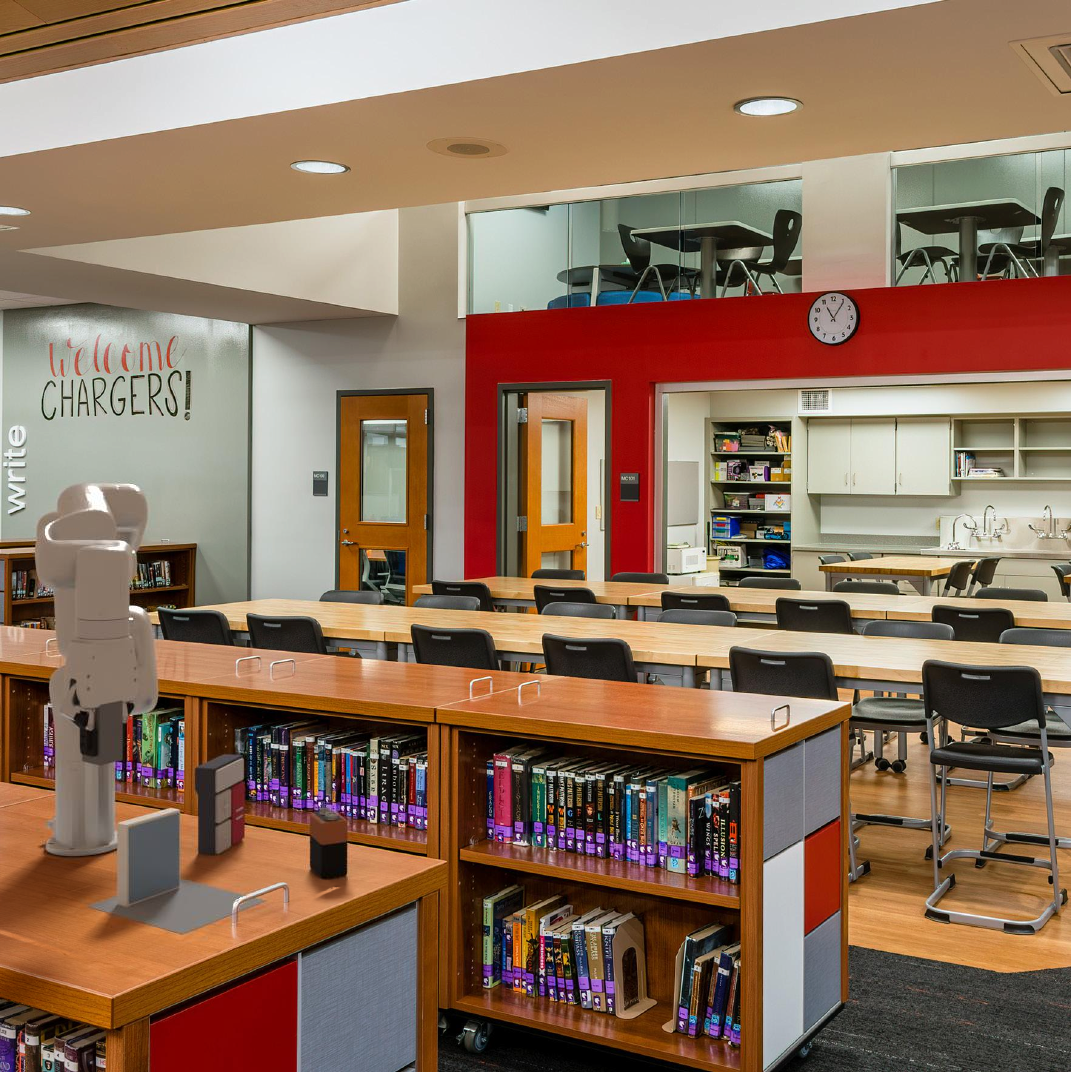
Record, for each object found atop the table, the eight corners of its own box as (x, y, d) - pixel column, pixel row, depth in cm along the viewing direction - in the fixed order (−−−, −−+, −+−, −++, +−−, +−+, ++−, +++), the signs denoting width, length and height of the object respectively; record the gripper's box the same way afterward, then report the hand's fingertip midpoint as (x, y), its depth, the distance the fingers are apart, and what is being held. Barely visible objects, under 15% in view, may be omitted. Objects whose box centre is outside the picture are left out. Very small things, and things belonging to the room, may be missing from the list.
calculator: (218, 858, 196) (218, 769, 195) (194, 856, 197) (194, 767, 196) (247, 839, 207) (247, 754, 206) (224, 837, 208) (224, 753, 207)
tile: (117, 904, 172) (117, 822, 172) (170, 885, 181) (170, 807, 180) (128, 907, 171) (127, 825, 171) (181, 887, 180) (181, 809, 179)
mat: (86, 909, 171) (86, 906, 171) (172, 879, 185) (172, 876, 185) (182, 937, 161) (182, 934, 161) (266, 903, 175) (266, 900, 175)
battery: (321, 880, 185) (321, 817, 185) (308, 868, 191) (309, 807, 191) (348, 876, 187) (348, 814, 187) (334, 864, 193) (335, 804, 193)
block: (82, 761, 174) (82, 701, 173) (104, 755, 177) (104, 696, 177) (99, 765, 172) (99, 704, 171) (122, 759, 175) (122, 700, 175)
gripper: (132, 620, 182) (131, 737, 184) (36, 633, 168) (36, 759, 170) (165, 625, 178) (164, 744, 180) (69, 639, 164) (69, 768, 166)
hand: (102, 750), depth 175 cm, fingers closed on block, 4 cm apart
